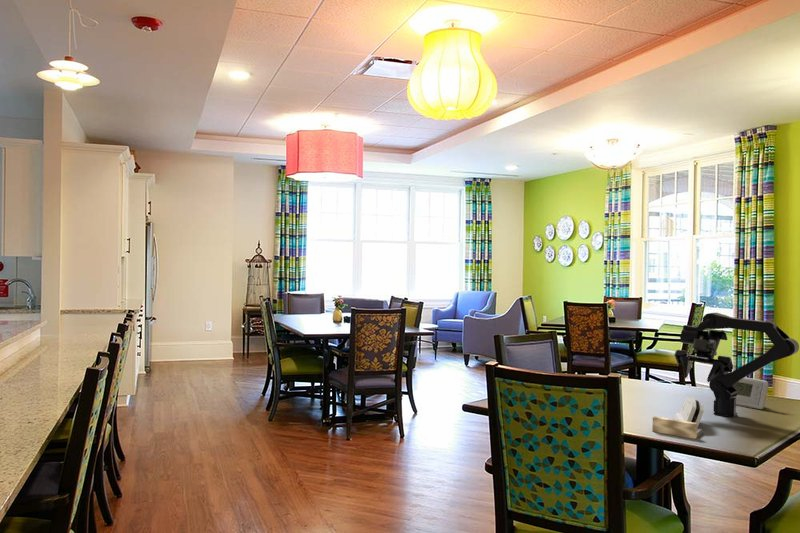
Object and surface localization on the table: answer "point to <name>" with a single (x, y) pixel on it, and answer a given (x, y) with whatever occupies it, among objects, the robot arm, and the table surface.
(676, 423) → the board
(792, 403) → the table surface
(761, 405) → the digital clock
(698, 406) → the pale rounded upright slab
